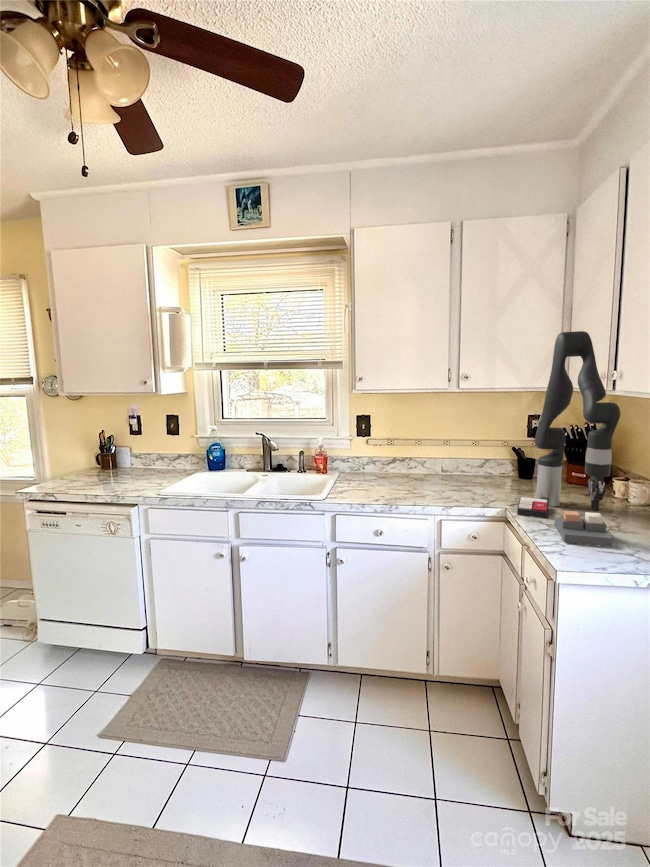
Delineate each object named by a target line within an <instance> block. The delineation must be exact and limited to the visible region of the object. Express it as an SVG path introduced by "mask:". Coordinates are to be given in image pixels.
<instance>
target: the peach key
mask: <svg viewBox="0 0 650 867" xmlns="http://www.w3.org/2000/svg"><path fill="white" fill-rule="evenodd" d="M562 516H563V518H564V520H565V521H571V522H580V519H581V515H580V514H579V512H578V511H573V510H562Z"/></svg>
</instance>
